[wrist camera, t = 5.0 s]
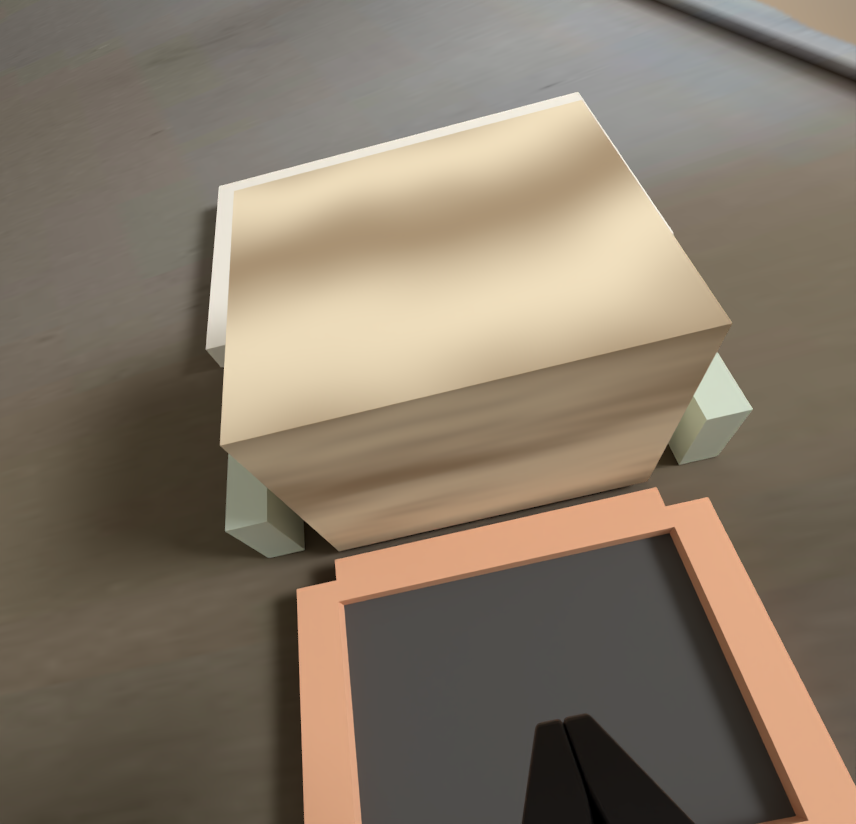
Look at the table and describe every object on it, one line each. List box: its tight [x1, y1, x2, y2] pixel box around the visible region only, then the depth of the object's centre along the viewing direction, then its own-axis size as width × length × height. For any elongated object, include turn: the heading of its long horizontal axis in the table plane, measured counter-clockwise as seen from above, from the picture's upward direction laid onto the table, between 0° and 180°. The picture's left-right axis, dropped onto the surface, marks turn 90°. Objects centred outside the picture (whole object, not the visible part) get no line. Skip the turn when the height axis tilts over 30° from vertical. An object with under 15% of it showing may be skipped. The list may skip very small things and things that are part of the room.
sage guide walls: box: [225, 353, 753, 558], centre depth 21 cm, size 9×18×4 cm, turn 100°
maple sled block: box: [220, 100, 732, 551], centre depth 18 cm, size 10×12×9 cm
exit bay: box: [206, 92, 674, 367], centre depth 28 cm, size 14×23×2 cm, turn 100°
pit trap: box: [297, 487, 856, 824], centre depth 16 cm, size 11×15×1 cm
